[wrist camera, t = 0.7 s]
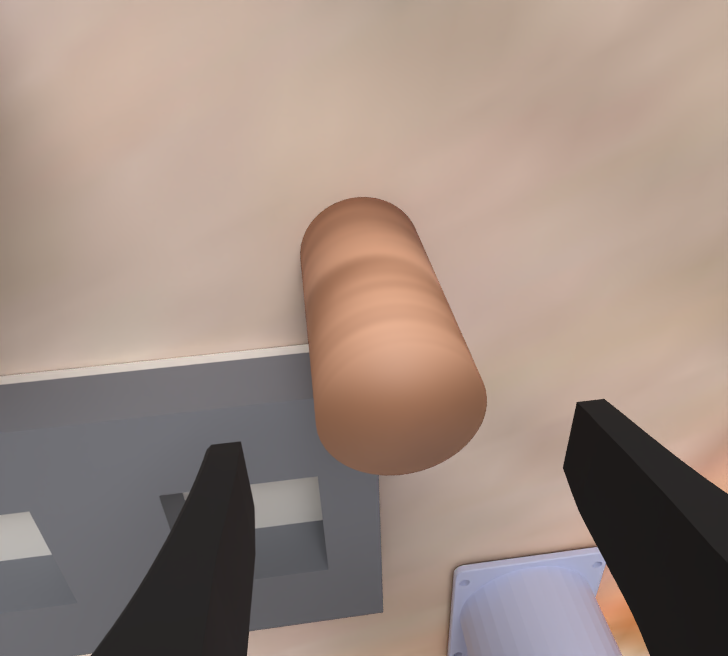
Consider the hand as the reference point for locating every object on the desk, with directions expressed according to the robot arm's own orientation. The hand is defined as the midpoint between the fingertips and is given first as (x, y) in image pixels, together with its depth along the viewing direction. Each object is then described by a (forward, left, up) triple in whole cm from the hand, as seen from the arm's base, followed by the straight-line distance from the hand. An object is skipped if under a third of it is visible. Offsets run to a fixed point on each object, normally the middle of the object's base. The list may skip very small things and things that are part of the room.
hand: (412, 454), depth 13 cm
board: (-10, +10, -9) cm, 17 cm away
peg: (0, 0, -9) cm, 9 cm away
